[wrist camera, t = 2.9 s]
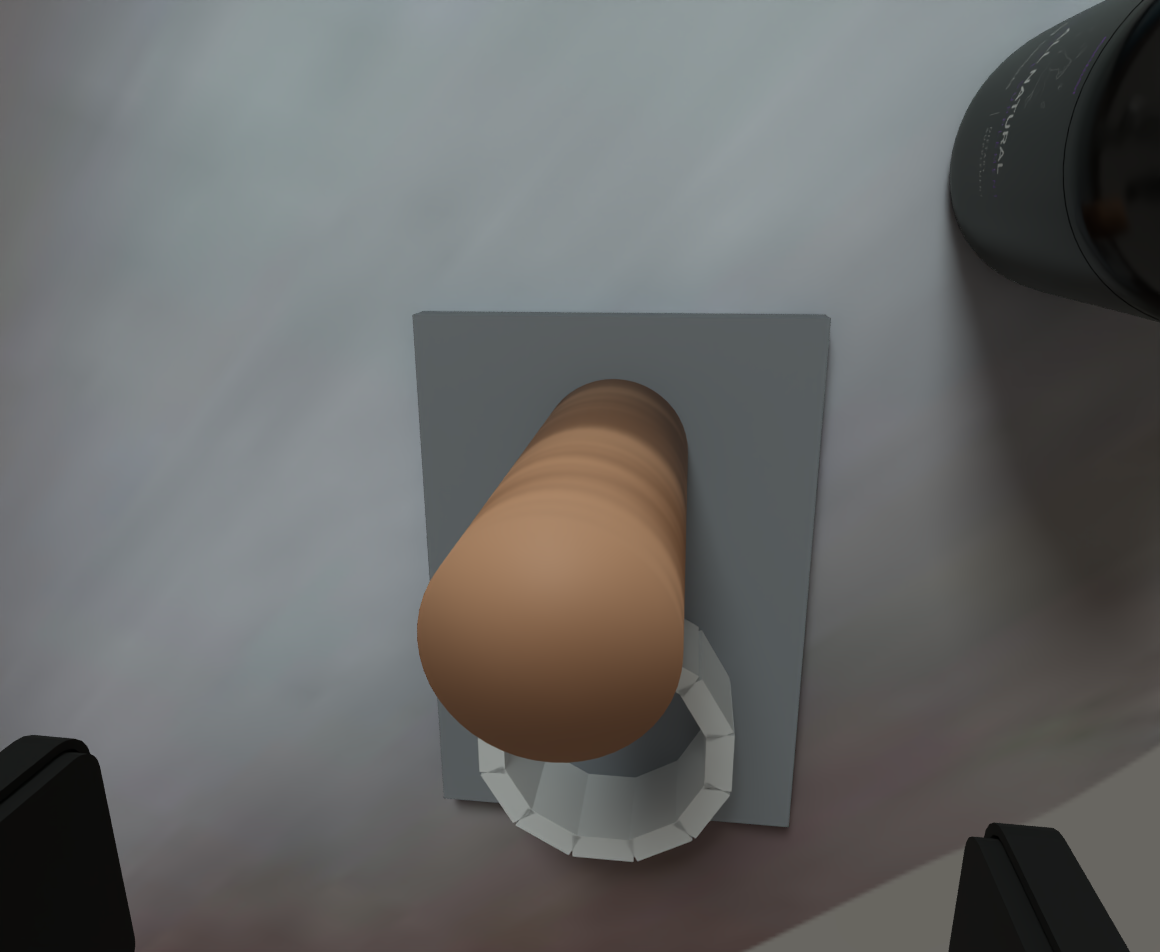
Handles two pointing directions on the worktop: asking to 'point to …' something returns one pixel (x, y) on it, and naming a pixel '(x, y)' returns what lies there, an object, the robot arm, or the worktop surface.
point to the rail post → (569, 584)
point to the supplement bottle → (1070, 161)
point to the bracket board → (712, 568)
